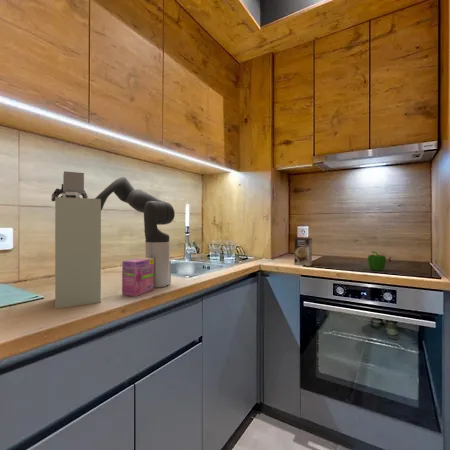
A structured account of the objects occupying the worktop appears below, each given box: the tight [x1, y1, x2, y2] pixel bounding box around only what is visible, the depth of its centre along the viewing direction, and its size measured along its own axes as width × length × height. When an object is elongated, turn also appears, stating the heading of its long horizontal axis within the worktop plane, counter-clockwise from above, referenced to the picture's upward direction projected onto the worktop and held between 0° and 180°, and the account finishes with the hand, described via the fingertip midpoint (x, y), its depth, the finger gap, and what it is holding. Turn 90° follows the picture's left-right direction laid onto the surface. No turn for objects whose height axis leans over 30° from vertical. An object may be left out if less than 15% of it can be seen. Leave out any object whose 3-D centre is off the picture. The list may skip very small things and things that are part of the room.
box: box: [121, 257, 154, 297], centre depth 98 cm, size 10×6×12 cm, turn 158°
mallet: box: [62, 170, 85, 195], centre depth 104 cm, size 22×6×6 cm, turn 32°
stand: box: [54, 196, 102, 309], centre depth 88 cm, size 12×12×32 cm
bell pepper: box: [367, 250, 387, 272], centre depth 147 cm, size 8×8×10 cm
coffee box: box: [293, 237, 313, 267], centre depth 167 cm, size 9×6×16 cm
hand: (71, 185), depth 108 cm, fingers closed on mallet, 4 cm apart
